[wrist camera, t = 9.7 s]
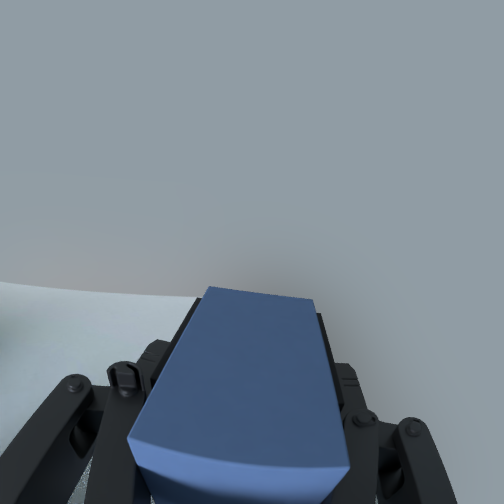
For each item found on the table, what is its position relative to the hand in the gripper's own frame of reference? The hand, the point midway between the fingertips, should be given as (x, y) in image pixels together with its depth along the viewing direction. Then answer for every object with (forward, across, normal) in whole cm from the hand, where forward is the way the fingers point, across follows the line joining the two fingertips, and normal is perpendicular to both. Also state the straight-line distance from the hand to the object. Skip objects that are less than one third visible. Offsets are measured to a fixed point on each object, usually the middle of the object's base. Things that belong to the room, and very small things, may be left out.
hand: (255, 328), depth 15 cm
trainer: (-3, 0, -6) cm, 7 cm away
